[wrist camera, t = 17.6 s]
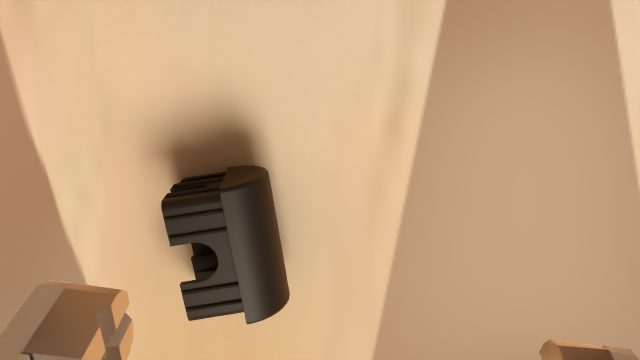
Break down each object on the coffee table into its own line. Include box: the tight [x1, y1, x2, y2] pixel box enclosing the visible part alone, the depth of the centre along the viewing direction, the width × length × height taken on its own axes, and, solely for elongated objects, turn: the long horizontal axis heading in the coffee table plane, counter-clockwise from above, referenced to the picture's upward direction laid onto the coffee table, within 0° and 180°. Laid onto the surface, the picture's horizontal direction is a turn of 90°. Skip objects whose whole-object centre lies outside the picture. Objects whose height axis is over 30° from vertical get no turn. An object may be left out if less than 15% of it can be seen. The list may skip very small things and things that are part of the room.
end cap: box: [161, 166, 290, 324], centre depth 36 cm, size 10×7×7 cm
